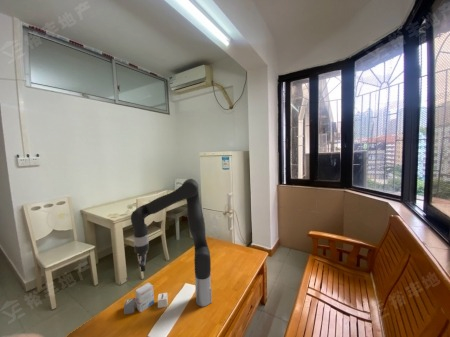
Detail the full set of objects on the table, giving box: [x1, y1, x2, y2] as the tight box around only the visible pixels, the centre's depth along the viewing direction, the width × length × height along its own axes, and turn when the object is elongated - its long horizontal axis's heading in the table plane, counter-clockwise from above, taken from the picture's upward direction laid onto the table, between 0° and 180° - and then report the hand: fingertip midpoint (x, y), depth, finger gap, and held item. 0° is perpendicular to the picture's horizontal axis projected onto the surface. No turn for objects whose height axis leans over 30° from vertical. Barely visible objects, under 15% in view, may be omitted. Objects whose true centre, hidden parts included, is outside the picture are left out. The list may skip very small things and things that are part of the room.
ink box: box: [134, 282, 155, 313], centre depth 111 cm, size 9×5×12 cm, turn 141°
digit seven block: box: [123, 297, 137, 315], centre depth 108 cm, size 5×5×5 cm
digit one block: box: [157, 292, 169, 309], centre depth 112 cm, size 5×5×5 cm
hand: (143, 270), depth 109 cm, fingers closed
